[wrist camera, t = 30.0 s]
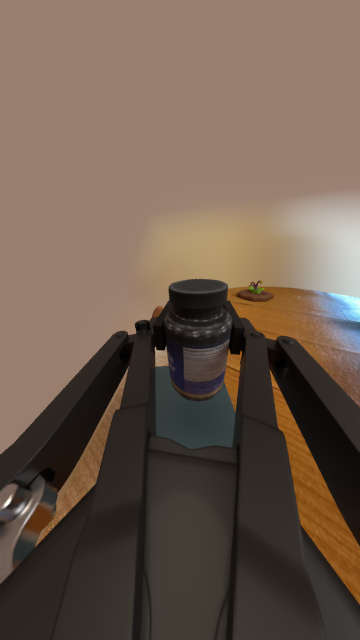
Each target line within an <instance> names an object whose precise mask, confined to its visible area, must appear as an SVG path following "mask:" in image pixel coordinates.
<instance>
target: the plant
mask: <svg viewBox="0 0 360 640" xmlns="http://www.w3.org/2000/svg"><path fill="white" fill-rule="evenodd" d="M259 282H260V284H262V281H258V282H257V284H256V285H255V283H254V282H252V283H254V285H253V287H252V289H251V288H250V287H251V286H252V283H251V285H249V287H248V288H249V289H250V290H243V291H240V292H238V295H237V296H238V297H241V298H242V299H246V300H250V301H267V300H270V299H272V298H273V295H272V294H271V293H269V292H264V291H262V290H263V289H264V288H262V289H260V290H259V288H260V287H257V286H258V283H259Z"/></svg>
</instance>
